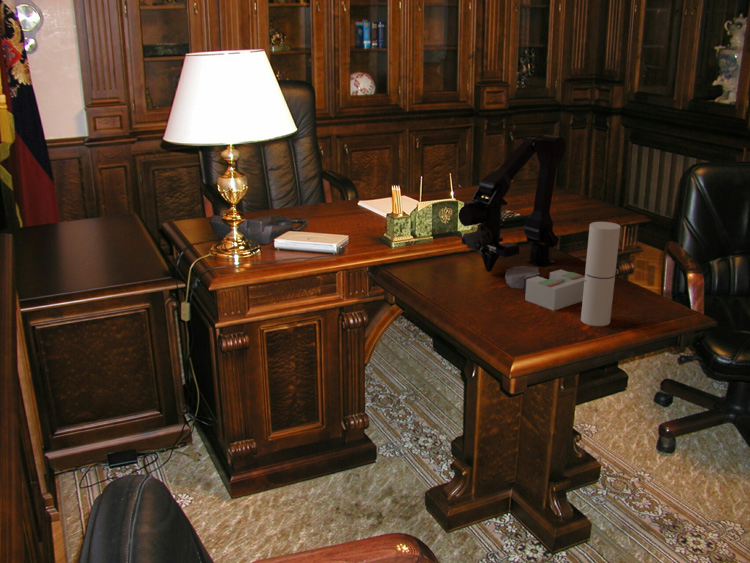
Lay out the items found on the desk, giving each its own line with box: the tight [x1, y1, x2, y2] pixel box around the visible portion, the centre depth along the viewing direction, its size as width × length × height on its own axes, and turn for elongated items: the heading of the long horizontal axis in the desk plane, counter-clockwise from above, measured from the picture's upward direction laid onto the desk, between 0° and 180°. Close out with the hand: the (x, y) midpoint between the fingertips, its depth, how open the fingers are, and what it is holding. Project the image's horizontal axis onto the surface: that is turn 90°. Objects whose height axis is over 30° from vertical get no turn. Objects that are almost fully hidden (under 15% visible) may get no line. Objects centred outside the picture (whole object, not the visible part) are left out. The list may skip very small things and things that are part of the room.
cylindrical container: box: [580, 221, 621, 327], centre depth 183 cm, size 7×7×25 cm
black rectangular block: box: [522, 273, 563, 294], centre depth 203 cm, size 7×9×5 cm
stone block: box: [504, 265, 541, 289], centre depth 215 cm, size 12×5×10 cm
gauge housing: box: [524, 269, 585, 312], centre depth 200 cm, size 14×10×6 cm
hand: (488, 271), depth 220 cm, fingers closed
